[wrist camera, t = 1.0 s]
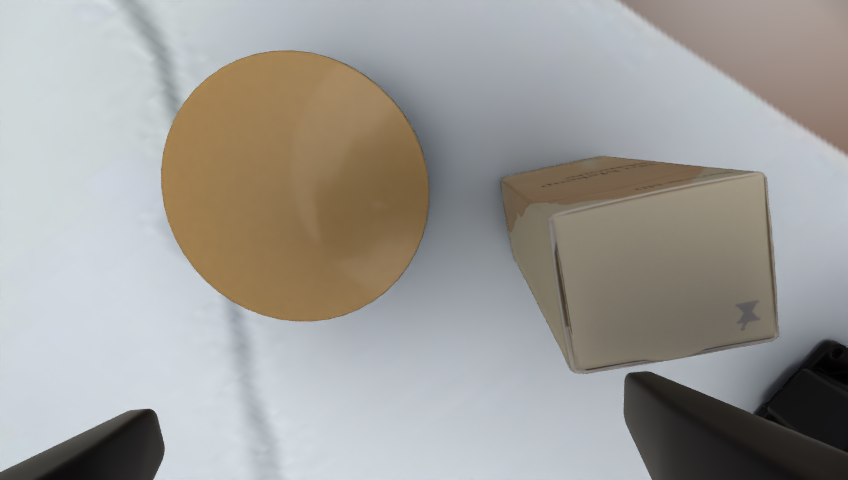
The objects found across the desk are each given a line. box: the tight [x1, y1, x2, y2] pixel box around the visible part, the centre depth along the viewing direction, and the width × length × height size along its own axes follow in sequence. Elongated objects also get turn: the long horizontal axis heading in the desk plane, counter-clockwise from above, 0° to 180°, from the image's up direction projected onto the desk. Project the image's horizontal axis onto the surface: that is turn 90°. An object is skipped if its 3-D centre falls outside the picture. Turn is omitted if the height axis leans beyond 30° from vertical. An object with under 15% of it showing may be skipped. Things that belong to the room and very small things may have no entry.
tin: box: [161, 50, 429, 321], centre depth 19 cm, size 10×10×4 cm
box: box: [500, 156, 779, 374], centre depth 16 cm, size 5×4×11 cm
